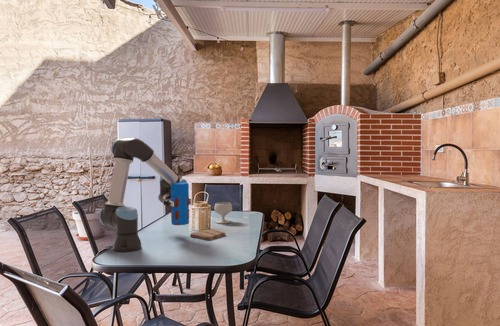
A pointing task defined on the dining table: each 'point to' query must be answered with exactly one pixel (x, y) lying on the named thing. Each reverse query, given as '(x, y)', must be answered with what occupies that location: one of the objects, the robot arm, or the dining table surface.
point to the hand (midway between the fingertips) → (182, 203)
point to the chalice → (223, 210)
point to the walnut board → (207, 234)
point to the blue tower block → (180, 203)
